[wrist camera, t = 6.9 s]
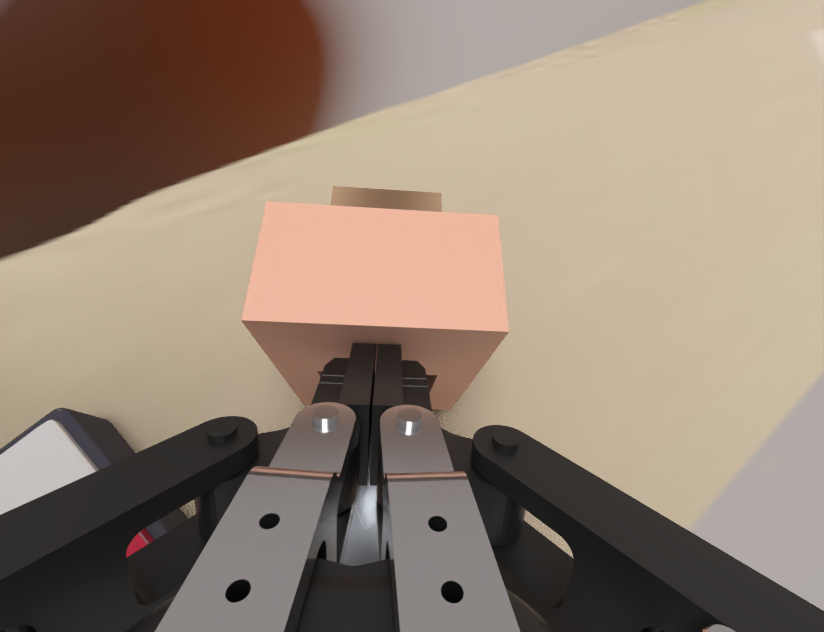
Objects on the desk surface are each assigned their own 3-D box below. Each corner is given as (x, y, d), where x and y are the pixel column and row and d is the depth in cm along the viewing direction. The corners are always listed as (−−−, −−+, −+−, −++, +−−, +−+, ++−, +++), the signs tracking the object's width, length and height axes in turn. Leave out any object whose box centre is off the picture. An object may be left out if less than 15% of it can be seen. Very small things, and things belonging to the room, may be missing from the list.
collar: (304, 405, 20) (240, 320, 11) (314, 330, 22) (266, 201, 12) (450, 409, 20) (508, 331, 11) (448, 335, 22) (497, 215, 13)
